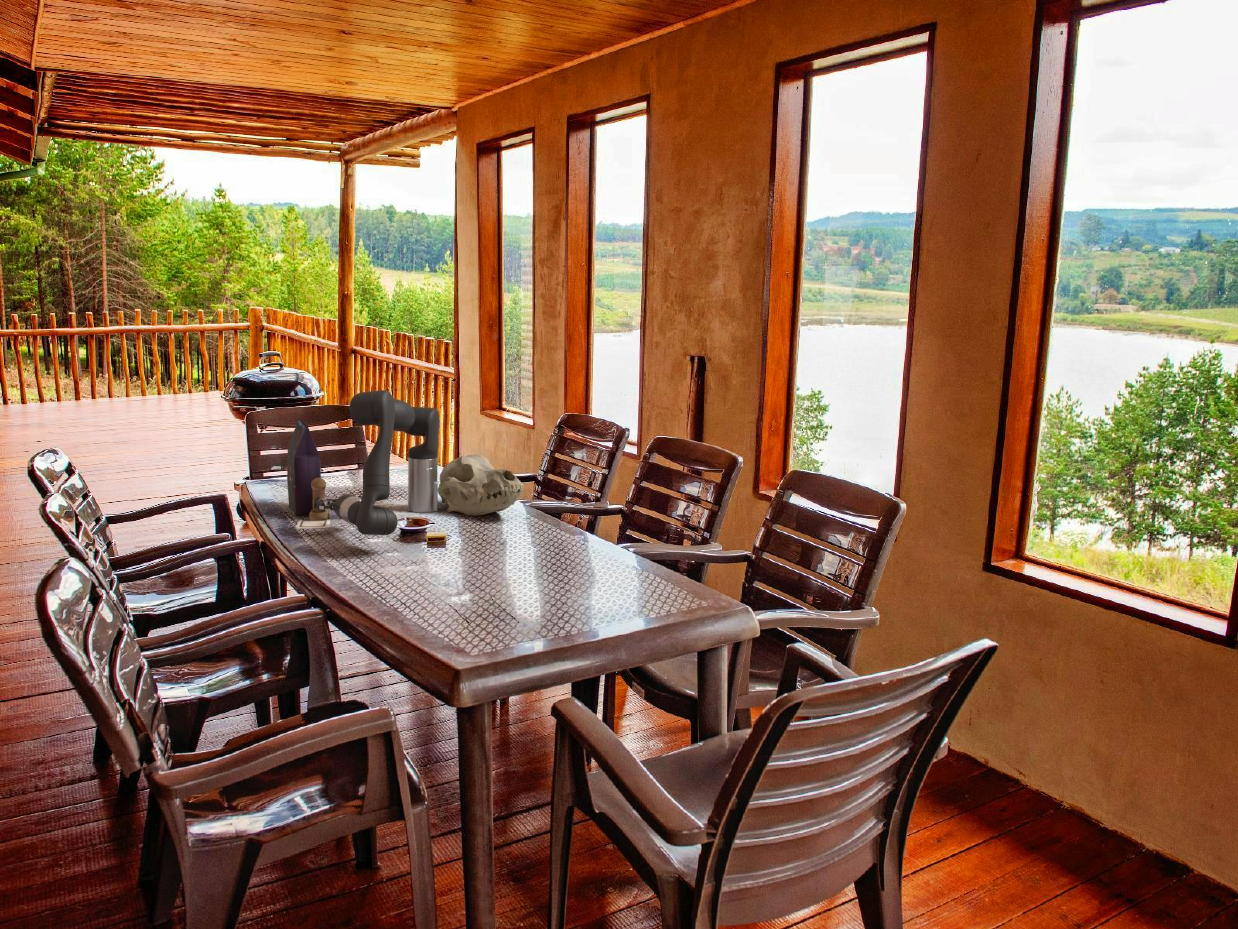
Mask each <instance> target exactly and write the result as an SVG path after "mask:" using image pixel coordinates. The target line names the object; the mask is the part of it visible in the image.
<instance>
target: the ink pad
mask: <svg viewBox="0 0 1238 929" xmlns="http://www.w3.org/2000/svg"><path fill="white" fill-rule="evenodd" d="M328 518H329V519H328V520H342V519H341V518H339V517H338V516H337V515H336V513H335V511H330V513H329V514H328Z"/></svg>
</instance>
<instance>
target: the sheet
mask: <svg viewBox="0 0 1238 929" xmlns="http://www.w3.org/2000/svg"><path fill="white" fill-rule="evenodd" d="M330 524H331V519H327V520H311V521H310V520H298V522H297V524H296V526H295V529H297V530H298V529H303V530H304V529H329V527H330Z"/></svg>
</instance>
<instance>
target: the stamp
mask: <svg viewBox="0 0 1238 929" xmlns="http://www.w3.org/2000/svg"><path fill="white" fill-rule="evenodd" d="M311 488H312V491H313V510H311V511H310V516H309V521H311V520H329V519H328V518H329V510H326V509H325V512H320V511H318V510H316V509H314V500H315V498H316V497H321V498H323V499H326V489H327V482H326V480H325V479H324V478H322V477H321V478H315V479H314V480H313V481H312V482H311Z"/></svg>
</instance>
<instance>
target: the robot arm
mask: <svg viewBox="0 0 1238 929" xmlns="http://www.w3.org/2000/svg"><path fill="white" fill-rule="evenodd" d="M349 413H350V416H351V418H352V419H353V420H354V422H355V423H356V424H358V425H359V426H366V427H367V426H376V427H379V431H378V436H377V439H376V441H375V443H374V445H373V447H372V449H371V450H370V452H369V454H368V456H367V458H366V460H365V461H364V465H363V468H362V495H358V496H357V495H354V494H352V493H344V494H342V495H340V496H339V497H336V498H335V497H327V498H325V499H323V498H321V497H316V498H315V500H314V509H316V510H318V511H320V512H325V509H326V510H328V512H329V511H330V512H331V511H335V513H336V515H337V516H338V517H339V518H341V519H340V520H343V521H345V522H347V523H348V524H351V525H353V526H356V528H357V531H358V532H359V533H360V534H361V535H364V536H365V535H366V536H367V535H368V536H388V535H391V534H393V533H394V532H395V531H396V529H397V528H398V527H397V526H398V524H399V523H398V517H397V514H396V513H395V512H394V511H393V510H391V509H390V508H387V507H383V506H379V505H375V502H380V501H385V500H387V499H388V498H389V497H390V494H391V492H390V489H391V488H390V487H391V486H390V484H391V483H390V480H391V479H390V463H391V452H392V445H393V437H394V431H395V432H403V433H404V434H405V435H406V434H407V435H409V436H414V437H425V440H424V442H422V443H421V444H418V445H414V446H411V447H410V448H408V454H407V463H408V464H407V510H408V511H410V512H412V513H413V512H414V513H431V512H438V502H439V500H438V495H439V493H438V487H439V484H438V457H439V456H438V455H439V454H438V453H439V435H440V413H439V410H438V409H437V408H435V407H426V406H425V407H424V406H412V405H411V404H410V403H408V402H406V401H404V400H401V399H396V398H394V396H393V395H392V393H391V392H390V391H389V390H385V389H384V390H383V389H381V390H370V391H362V392H358V393H356V394H355V395H353V396H352V397H351V399H350V401H349Z"/></svg>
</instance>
